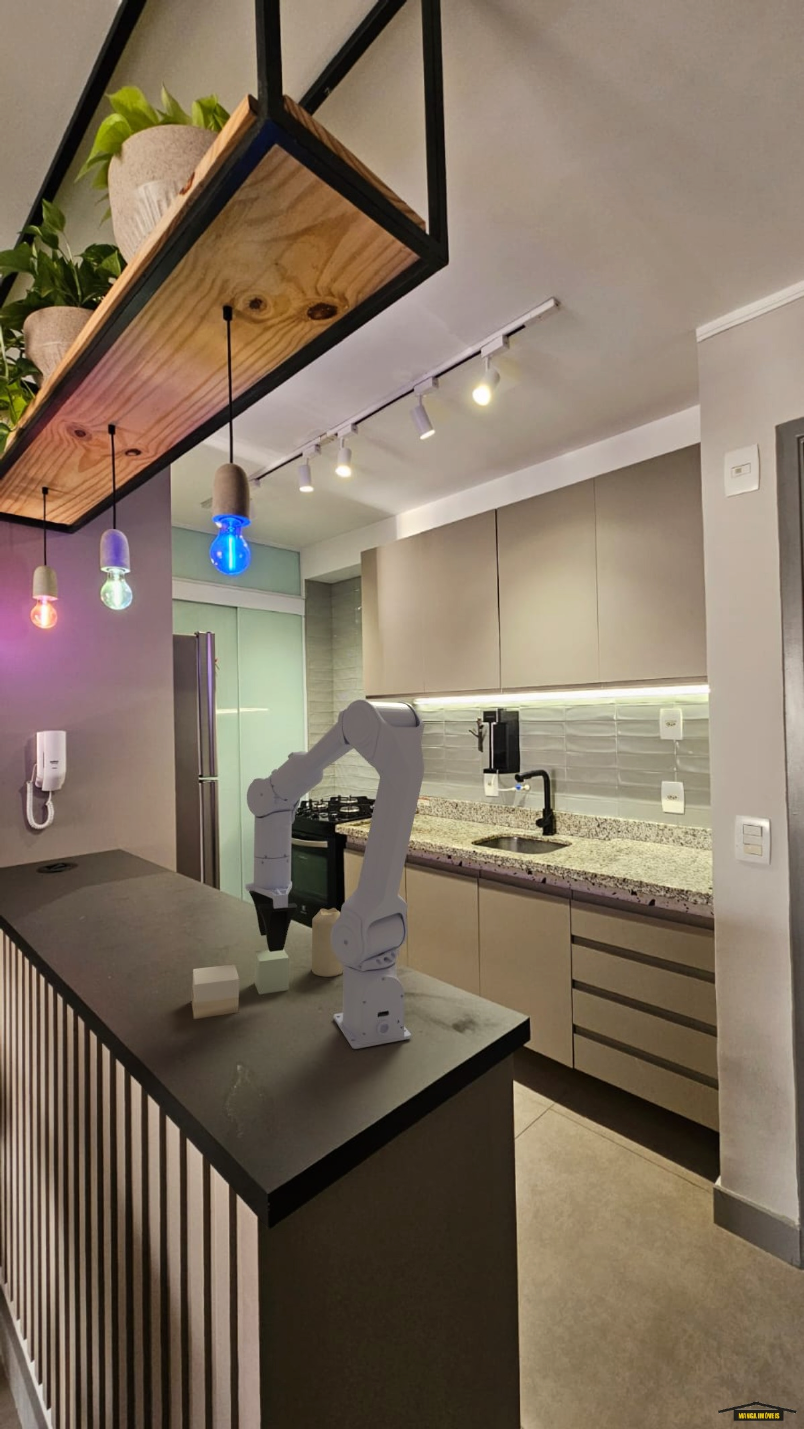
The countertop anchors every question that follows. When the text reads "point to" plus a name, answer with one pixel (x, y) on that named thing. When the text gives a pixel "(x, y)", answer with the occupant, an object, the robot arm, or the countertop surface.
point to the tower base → (214, 1007)
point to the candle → (324, 944)
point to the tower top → (215, 983)
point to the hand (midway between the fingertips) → (271, 942)
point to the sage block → (271, 971)
